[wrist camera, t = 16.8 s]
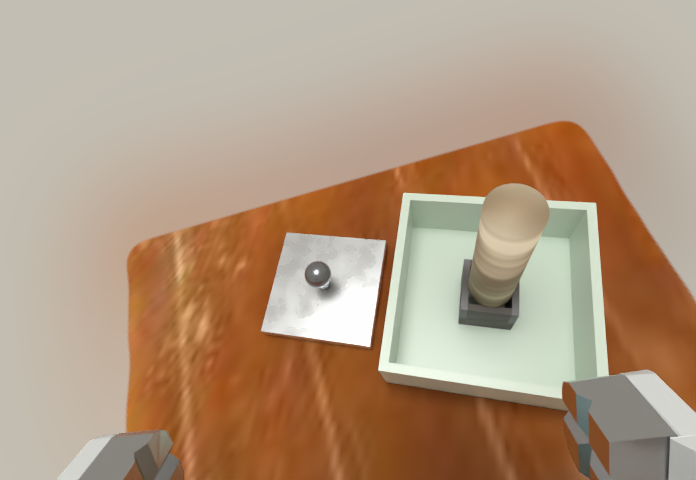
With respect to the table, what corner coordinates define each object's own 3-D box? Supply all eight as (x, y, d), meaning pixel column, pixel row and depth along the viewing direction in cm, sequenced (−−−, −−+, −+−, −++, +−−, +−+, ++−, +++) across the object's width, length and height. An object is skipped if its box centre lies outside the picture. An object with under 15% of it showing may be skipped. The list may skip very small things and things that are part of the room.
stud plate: (371, 349, 45) (362, 335, 39) (265, 334, 48) (244, 319, 42) (387, 246, 50) (381, 221, 44) (290, 238, 52) (274, 214, 47)
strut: (510, 330, 42) (559, 249, 25) (458, 323, 43) (472, 242, 27) (511, 282, 44) (557, 178, 27) (461, 277, 45) (476, 175, 29)
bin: (583, 413, 39) (610, 406, 33) (386, 382, 43) (378, 370, 37) (574, 236, 46) (595, 203, 40) (407, 224, 50) (403, 192, 44)
